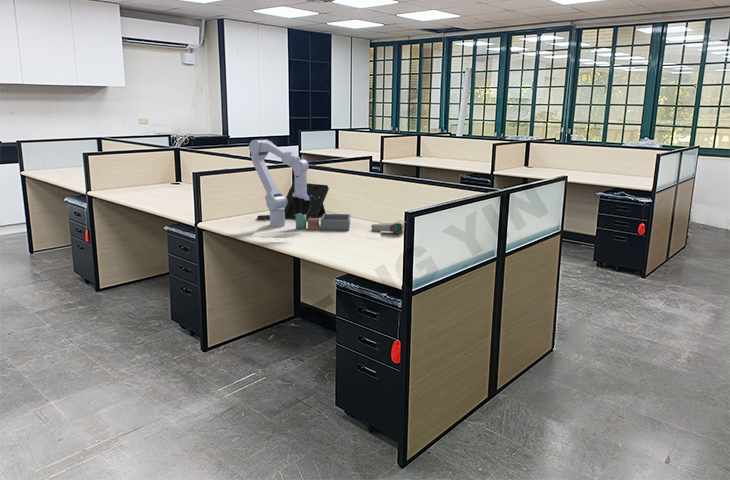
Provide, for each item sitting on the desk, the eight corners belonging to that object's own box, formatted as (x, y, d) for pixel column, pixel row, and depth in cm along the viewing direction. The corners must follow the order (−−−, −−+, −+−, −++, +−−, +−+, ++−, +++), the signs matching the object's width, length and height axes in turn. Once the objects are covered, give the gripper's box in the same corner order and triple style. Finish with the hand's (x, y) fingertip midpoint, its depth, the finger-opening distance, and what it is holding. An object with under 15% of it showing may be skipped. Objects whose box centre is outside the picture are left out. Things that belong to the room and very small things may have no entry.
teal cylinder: (296, 227, 266) (296, 213, 265) (306, 227, 266) (306, 213, 265) (295, 229, 262) (295, 215, 260) (305, 229, 262) (305, 215, 260)
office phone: (253, 219, 287) (252, 181, 283) (285, 212, 312) (285, 177, 308) (300, 225, 274) (299, 185, 270) (329, 217, 299) (329, 180, 294)
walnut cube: (308, 228, 266) (308, 218, 265) (319, 228, 266) (319, 218, 265) (307, 230, 261) (307, 219, 260) (318, 230, 261) (318, 220, 260)
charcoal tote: (323, 223, 278) (323, 213, 277) (350, 224, 278) (350, 214, 277) (320, 230, 261) (320, 219, 260) (349, 230, 261) (349, 220, 260)
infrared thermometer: (370, 223, 260) (401, 223, 256) (376, 219, 271) (406, 219, 267) (371, 233, 261) (402, 233, 257) (377, 228, 272) (407, 228, 268)
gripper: (286, 184, 264) (287, 211, 266) (299, 187, 251) (299, 216, 254) (300, 183, 267) (300, 210, 270) (313, 186, 255) (313, 215, 258)
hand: (300, 213), depth 262 cm, fingers open, 7 cm apart
